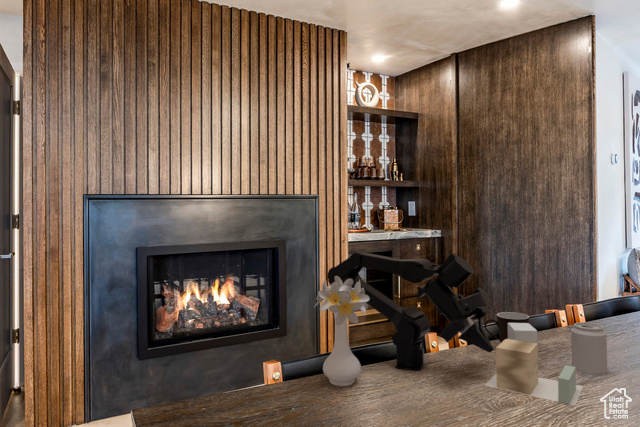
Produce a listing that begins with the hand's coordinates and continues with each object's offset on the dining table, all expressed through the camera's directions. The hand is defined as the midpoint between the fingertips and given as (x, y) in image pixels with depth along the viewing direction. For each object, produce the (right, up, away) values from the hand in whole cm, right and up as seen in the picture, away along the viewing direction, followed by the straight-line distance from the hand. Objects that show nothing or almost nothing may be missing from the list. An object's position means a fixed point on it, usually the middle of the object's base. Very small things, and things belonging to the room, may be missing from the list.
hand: (492, 351), depth 103 cm
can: (+26, -7, +5) cm, 28 cm away
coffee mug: (+14, -7, +25) cm, 30 cm away
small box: (+12, -8, +11) cm, 18 cm away
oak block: (+5, -7, -3) cm, 9 cm away
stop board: (+12, -7, -9) cm, 17 cm away
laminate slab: (+8, -8, -4) cm, 12 cm away
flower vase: (-35, -9, +3) cm, 36 cm away
